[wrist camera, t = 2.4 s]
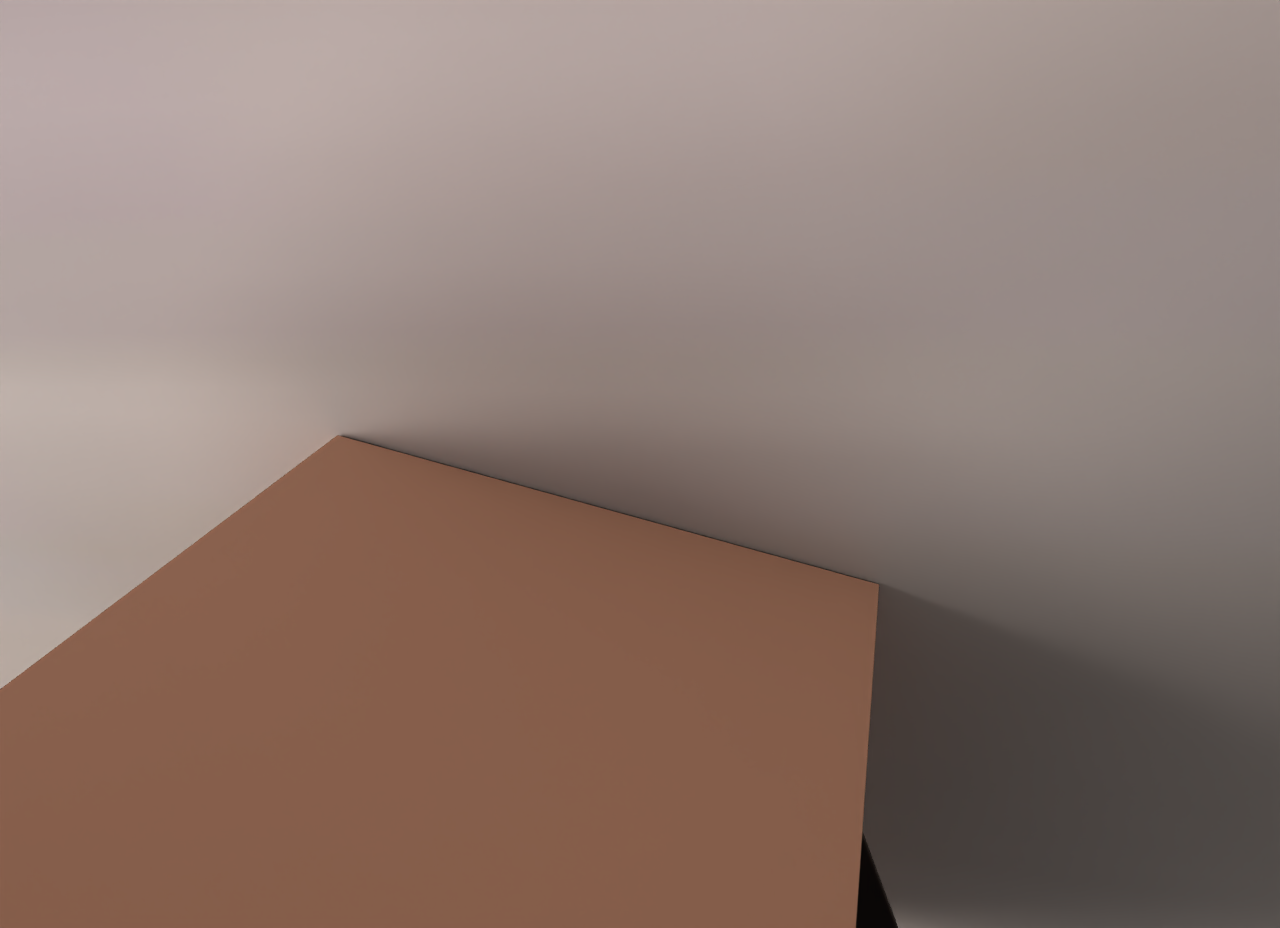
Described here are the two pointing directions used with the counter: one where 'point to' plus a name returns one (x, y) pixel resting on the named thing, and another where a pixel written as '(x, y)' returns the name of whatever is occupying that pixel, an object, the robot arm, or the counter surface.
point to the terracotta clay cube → (444, 723)
